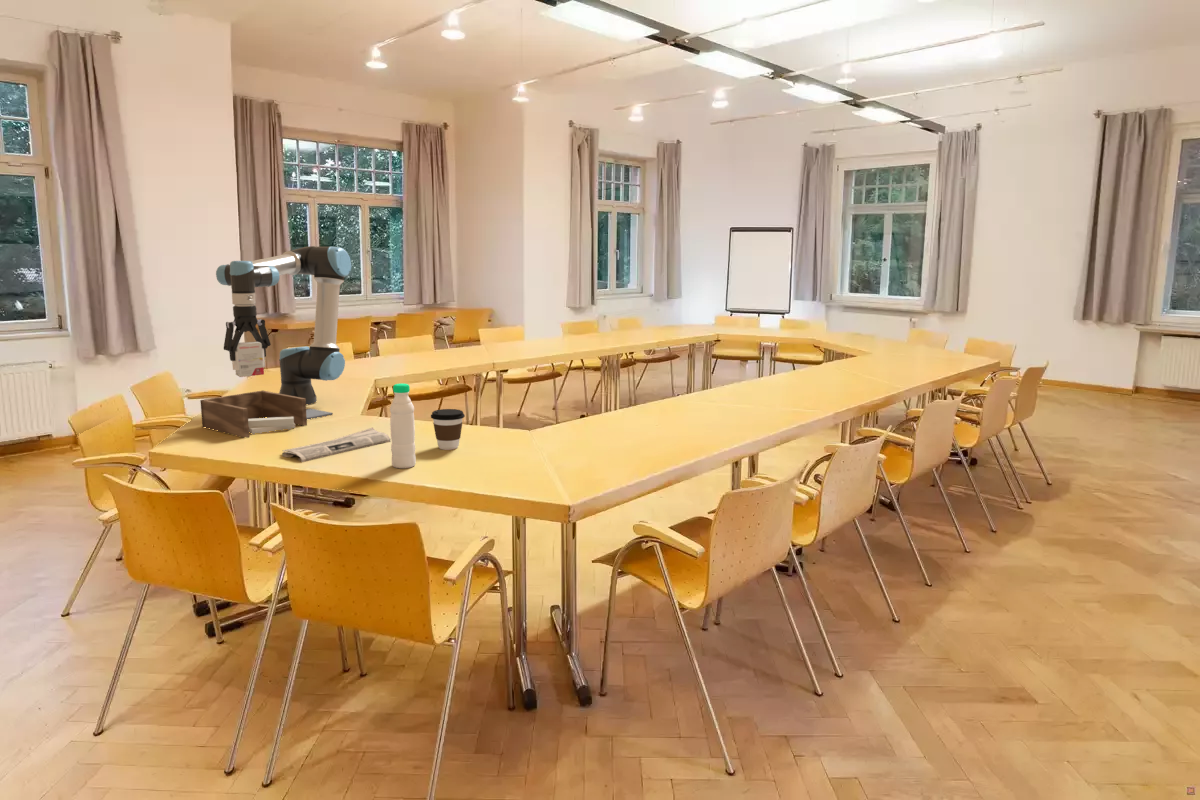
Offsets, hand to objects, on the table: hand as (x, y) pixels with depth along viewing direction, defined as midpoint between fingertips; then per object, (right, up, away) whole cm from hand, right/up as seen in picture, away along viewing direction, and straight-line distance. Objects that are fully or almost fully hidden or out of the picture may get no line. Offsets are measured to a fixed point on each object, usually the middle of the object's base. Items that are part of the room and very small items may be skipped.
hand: (249, 368), depth 284 cm
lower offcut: (+9, -23, -2) cm, 25 cm away
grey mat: (+12, -17, +23) cm, 31 cm away
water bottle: (+66, -32, -44) cm, 86 cm away
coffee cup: (+76, -27, -22) cm, 83 cm away
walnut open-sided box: (+1, -21, +3) cm, 21 cm away
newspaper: (+40, -28, -25) cm, 55 cm away
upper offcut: (+9, -20, -3) cm, 23 cm away
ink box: (0, -3, +1) cm, 3 cm away
